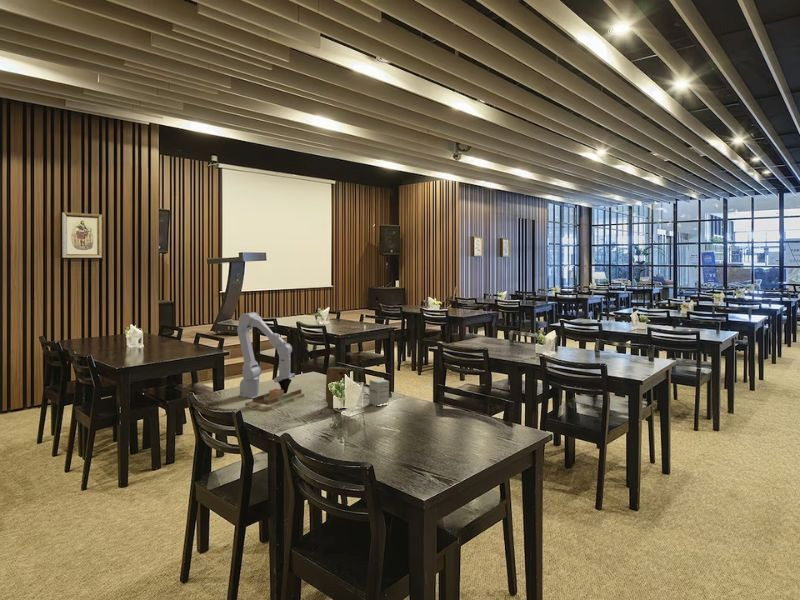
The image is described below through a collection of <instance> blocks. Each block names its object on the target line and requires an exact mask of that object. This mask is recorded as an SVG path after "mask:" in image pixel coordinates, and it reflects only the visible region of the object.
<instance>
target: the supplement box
mask: <svg viewBox="0 0 800 600" xmlns="http://www.w3.org/2000/svg"><path fill="white" fill-rule="evenodd" d="M368 387H369V388H368V389H369V392H368V395H369V396H368V404H369V405H371V404H373V405H372V406H374V405H380V404H384V403H387V402H388V403H389V398H390V397H389V394H390V381H389V380H386V379H384V378H374V379H373V378H372V379H369V386H368Z"/></svg>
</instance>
